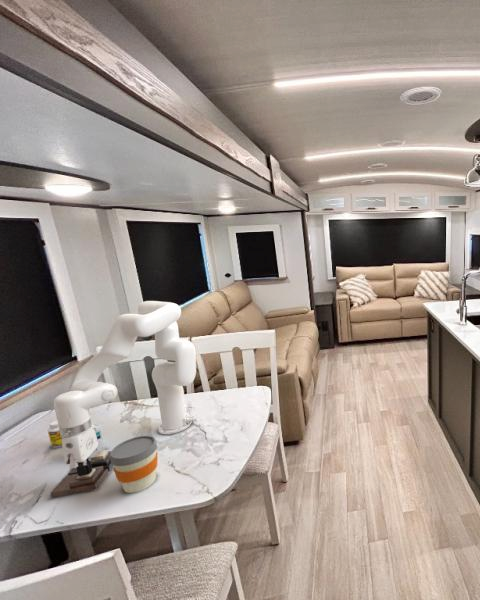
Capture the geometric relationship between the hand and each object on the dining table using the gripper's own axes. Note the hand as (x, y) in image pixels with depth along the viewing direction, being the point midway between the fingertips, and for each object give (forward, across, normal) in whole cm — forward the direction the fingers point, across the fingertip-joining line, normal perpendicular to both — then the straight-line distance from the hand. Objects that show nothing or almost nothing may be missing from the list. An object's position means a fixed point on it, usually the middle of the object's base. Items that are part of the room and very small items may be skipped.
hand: (85, 473), depth 111 cm
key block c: (+4, +9, +2) cm, 10 cm away
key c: (+1, +9, 0) cm, 9 cm away
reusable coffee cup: (+5, -5, -17) cm, 18 cm away
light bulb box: (+5, +21, +10) cm, 24 cm away
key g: (+2, 0, 0) cm, 2 cm away
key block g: (+5, 0, +2) cm, 5 cm away
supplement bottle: (+5, +30, +23) cm, 38 cm away
